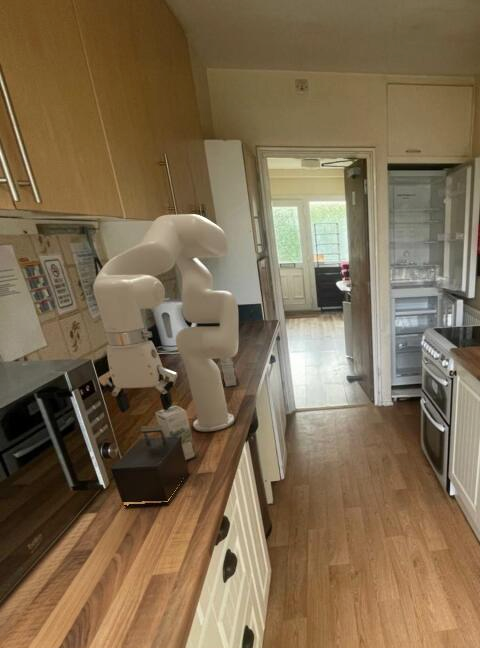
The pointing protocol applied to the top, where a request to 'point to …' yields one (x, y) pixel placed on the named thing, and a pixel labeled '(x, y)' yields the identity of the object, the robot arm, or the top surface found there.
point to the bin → (153, 481)
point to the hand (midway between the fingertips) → (146, 409)
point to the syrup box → (177, 428)
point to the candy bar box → (228, 371)
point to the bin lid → (148, 451)
